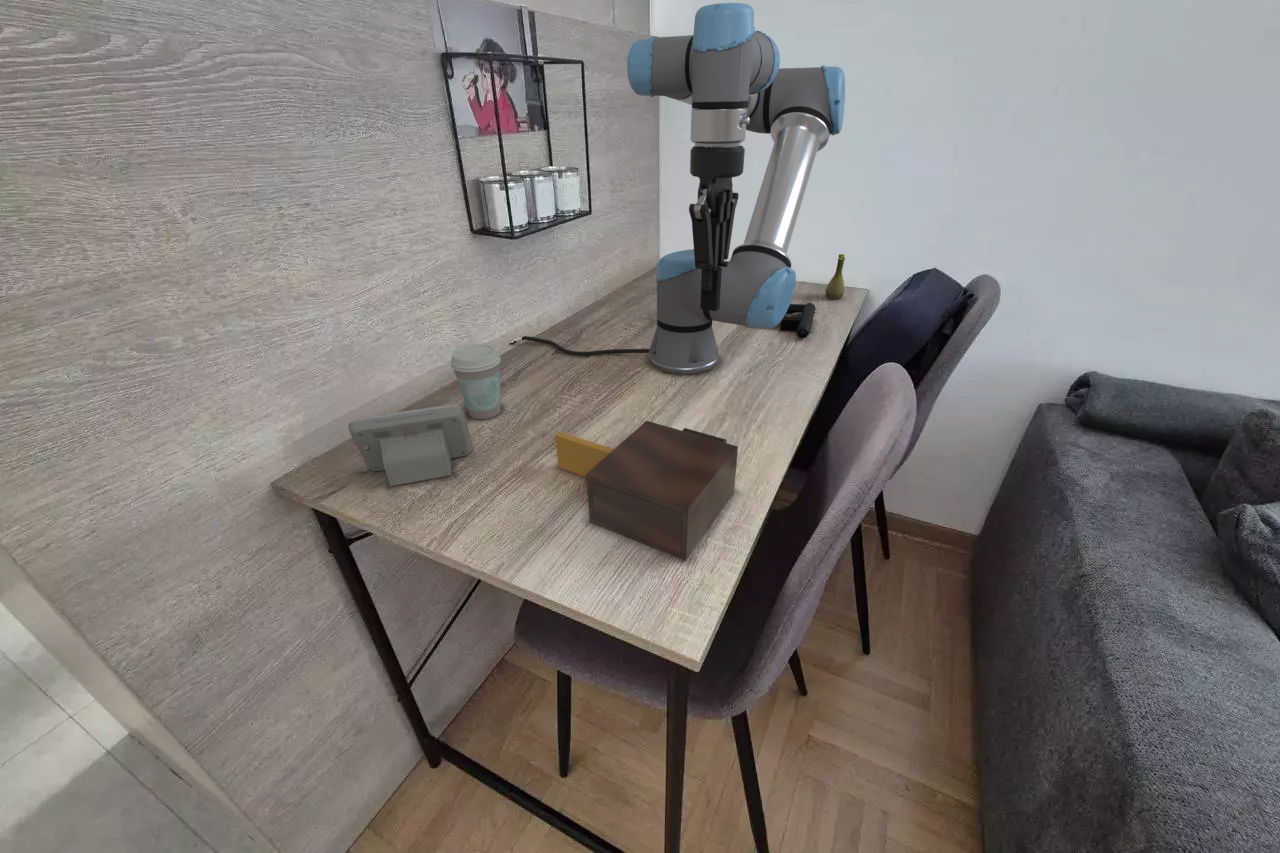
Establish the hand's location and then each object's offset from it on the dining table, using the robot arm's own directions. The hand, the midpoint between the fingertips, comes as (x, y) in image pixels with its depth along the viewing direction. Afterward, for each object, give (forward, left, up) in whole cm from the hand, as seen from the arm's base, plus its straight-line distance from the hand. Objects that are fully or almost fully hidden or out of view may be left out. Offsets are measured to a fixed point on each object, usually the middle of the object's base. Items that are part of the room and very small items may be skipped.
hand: (709, 308), depth 88 cm
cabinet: (+6, -26, -20) cm, 33 cm away
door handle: (-2, +52, -20) cm, 56 cm away
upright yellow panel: (-8, -25, -20) cm, 33 cm away
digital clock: (-32, -36, -20) cm, 52 cm away
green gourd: (+4, +79, -20) cm, 82 cm away
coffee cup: (-36, -18, -20) cm, 45 cm away
